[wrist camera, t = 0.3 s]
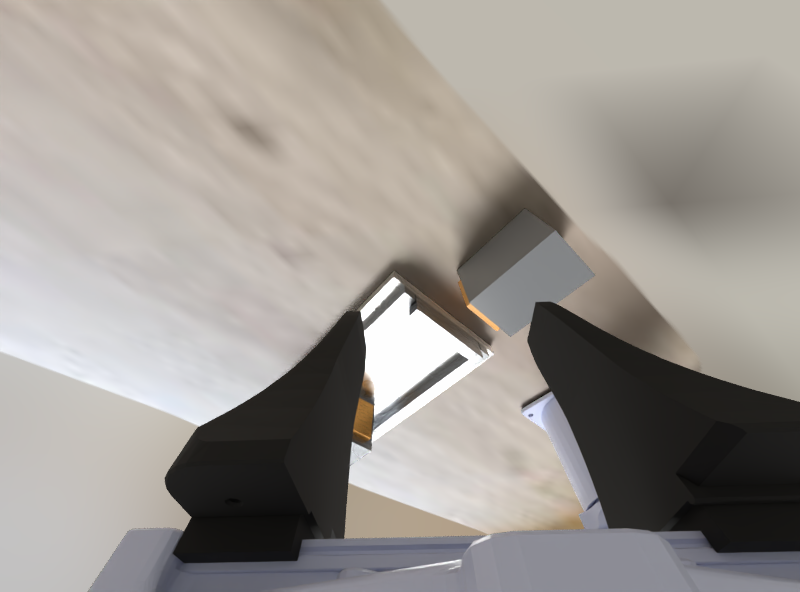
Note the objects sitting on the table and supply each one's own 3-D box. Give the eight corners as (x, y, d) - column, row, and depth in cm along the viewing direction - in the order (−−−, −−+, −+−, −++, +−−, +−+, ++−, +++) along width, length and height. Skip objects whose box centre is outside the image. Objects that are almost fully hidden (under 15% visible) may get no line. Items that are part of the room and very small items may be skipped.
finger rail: (491, 346, 25) (512, 398, 20) (363, 439, 32) (357, 494, 27) (394, 270, 21) (392, 313, 17) (274, 395, 28) (249, 450, 24)
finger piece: (558, 245, 20) (595, 275, 17) (487, 304, 23) (504, 341, 19) (524, 207, 19) (555, 230, 15) (451, 274, 22) (463, 307, 18)
